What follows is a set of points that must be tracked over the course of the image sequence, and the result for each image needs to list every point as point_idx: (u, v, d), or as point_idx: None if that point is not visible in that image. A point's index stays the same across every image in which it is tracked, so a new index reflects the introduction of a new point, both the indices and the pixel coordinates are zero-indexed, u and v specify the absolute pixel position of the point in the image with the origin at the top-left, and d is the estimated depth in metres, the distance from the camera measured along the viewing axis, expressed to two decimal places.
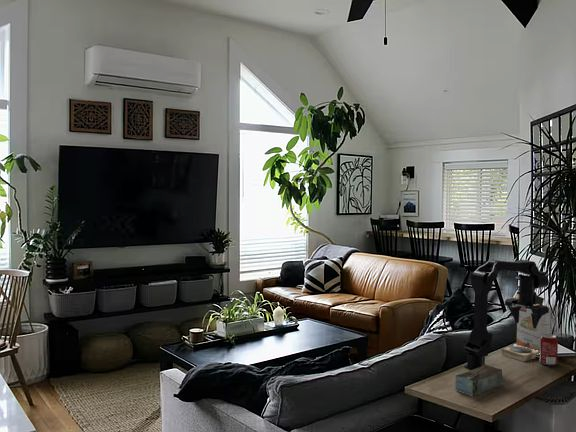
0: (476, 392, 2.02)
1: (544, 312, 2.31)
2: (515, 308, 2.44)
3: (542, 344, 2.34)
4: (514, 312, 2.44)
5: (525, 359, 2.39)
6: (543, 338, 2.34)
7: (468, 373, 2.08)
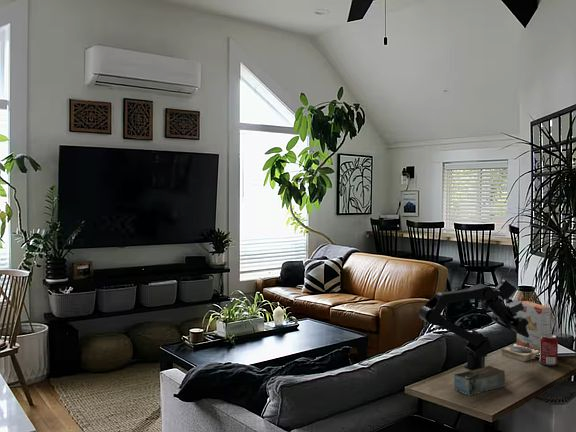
0: (473, 392, 2.02)
1: (523, 327, 2.22)
2: None
3: (542, 344, 2.34)
4: (505, 325, 2.36)
5: (525, 359, 2.39)
6: (543, 338, 2.34)
7: (468, 373, 2.08)
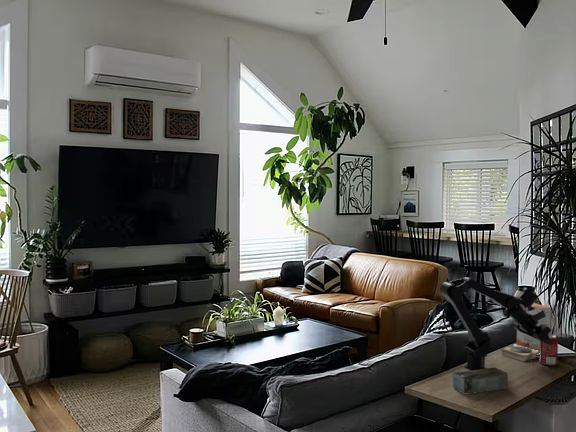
0: (469, 391, 2.03)
1: (546, 334, 2.24)
2: None
3: (542, 344, 2.34)
4: (527, 332, 2.38)
5: (525, 359, 2.39)
6: None
7: (468, 372, 2.09)
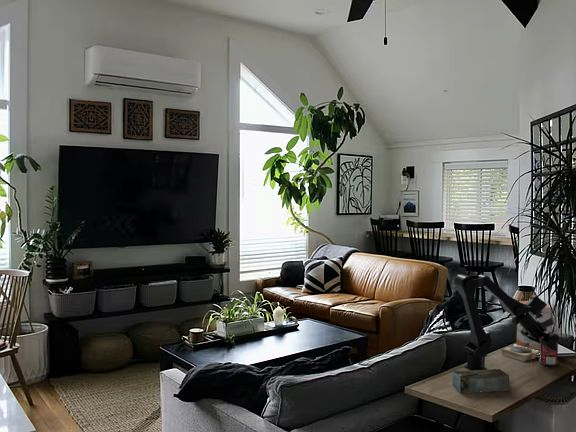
0: (466, 390, 2.04)
1: (554, 342, 2.25)
2: None
3: (542, 344, 2.34)
4: (536, 340, 2.38)
5: (525, 359, 2.39)
6: None
7: (468, 372, 2.09)
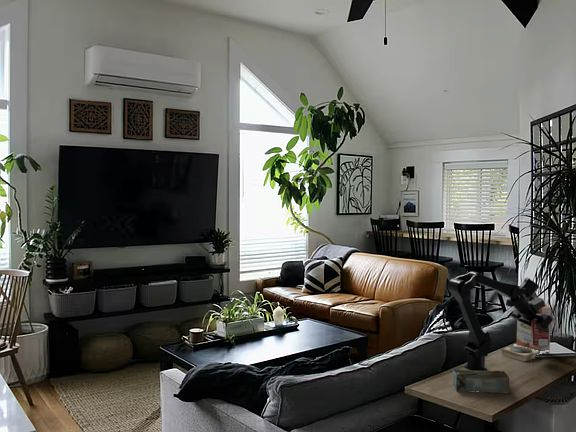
0: (462, 389, 2.05)
1: (548, 323, 2.28)
2: None
3: (534, 326, 2.37)
4: (527, 323, 2.41)
5: (525, 359, 2.39)
6: (535, 320, 2.37)
7: (468, 371, 2.10)
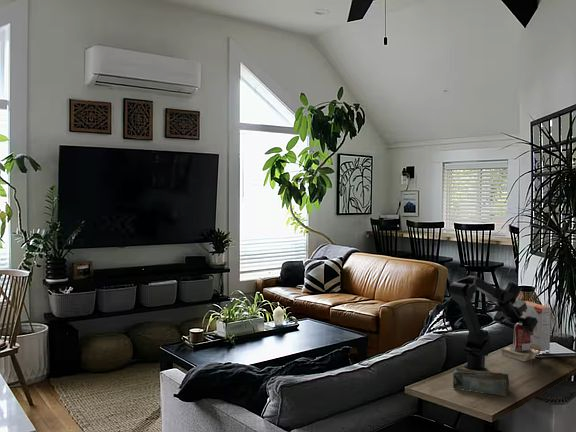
0: (459, 387, 2.07)
1: (534, 325, 2.35)
2: None
3: (518, 332, 2.43)
4: (507, 325, 2.48)
5: (525, 359, 2.39)
6: (518, 326, 2.43)
7: (469, 371, 2.10)
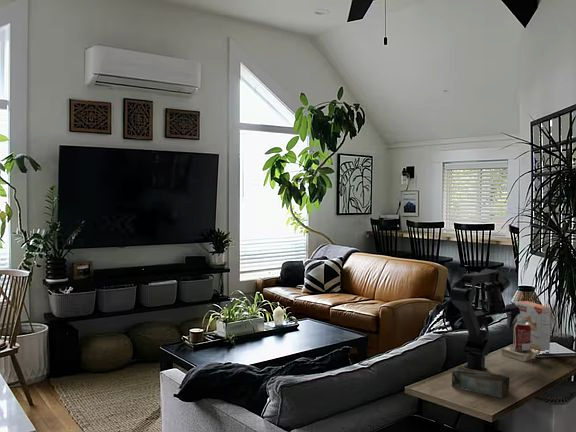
0: (457, 385, 2.09)
1: None
2: None
3: (518, 332, 2.43)
4: None
5: (525, 359, 2.39)
6: (518, 326, 2.43)
7: (471, 371, 2.11)
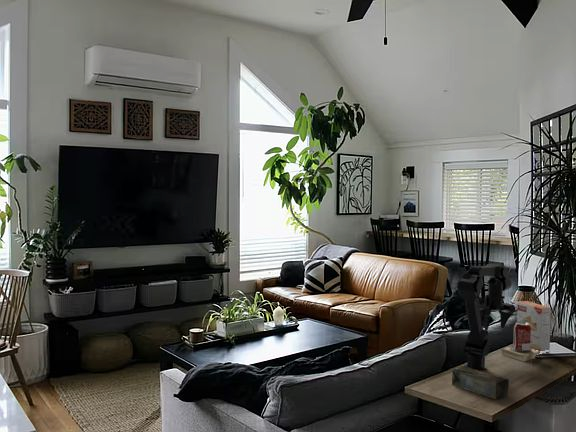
0: (457, 383, 2.10)
1: None
2: None
3: (518, 332, 2.43)
4: None
5: (525, 359, 2.39)
6: (518, 326, 2.43)
7: (473, 370, 2.11)
